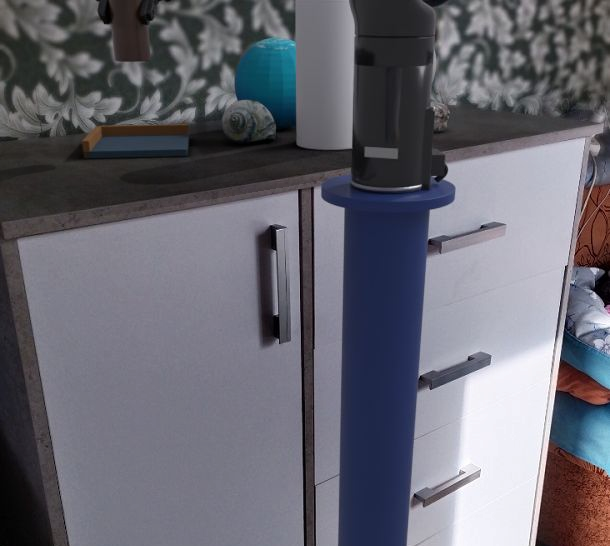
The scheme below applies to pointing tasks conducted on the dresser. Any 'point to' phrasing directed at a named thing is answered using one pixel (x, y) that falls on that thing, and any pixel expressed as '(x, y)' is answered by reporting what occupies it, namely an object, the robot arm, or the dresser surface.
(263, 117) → the seashell
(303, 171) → the dresser surface
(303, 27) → the tall pillar cylinder
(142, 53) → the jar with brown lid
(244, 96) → the decorative orb
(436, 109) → the stone
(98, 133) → the corner mat
